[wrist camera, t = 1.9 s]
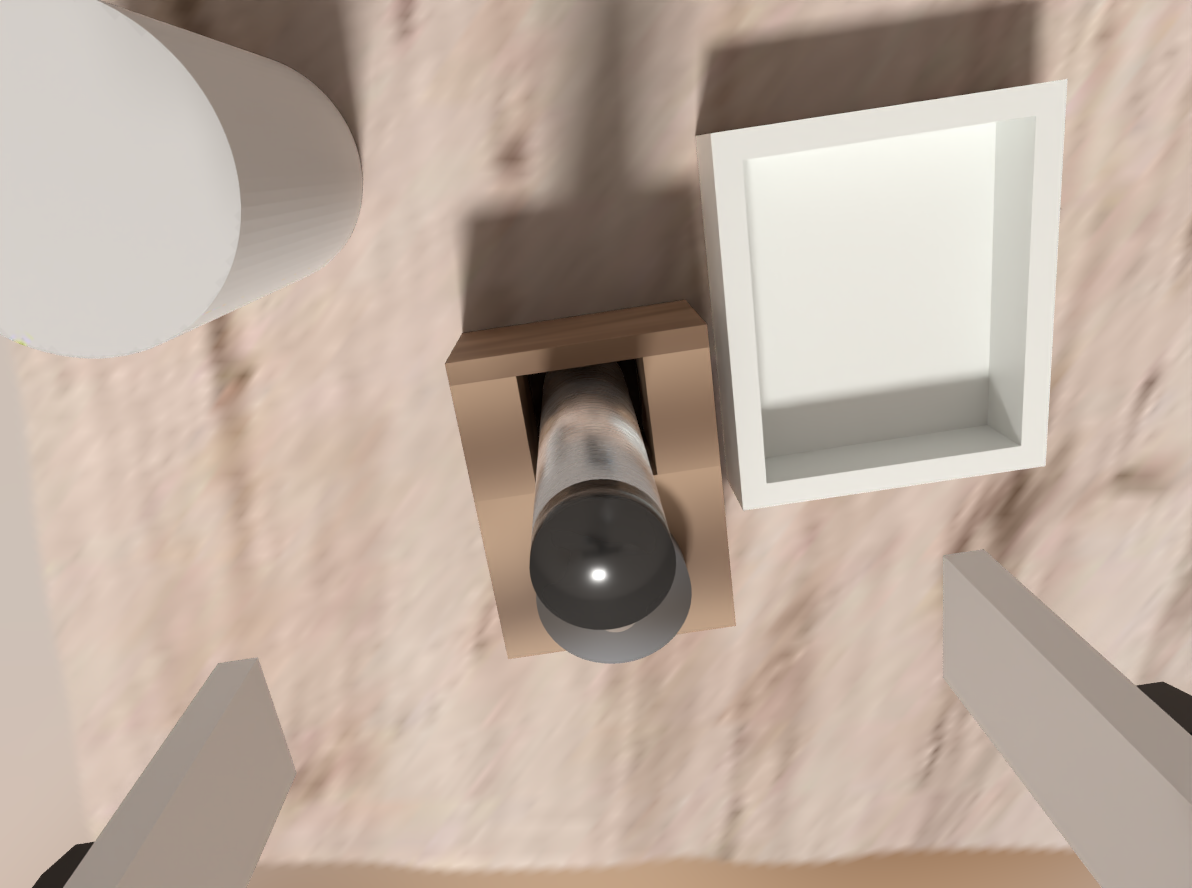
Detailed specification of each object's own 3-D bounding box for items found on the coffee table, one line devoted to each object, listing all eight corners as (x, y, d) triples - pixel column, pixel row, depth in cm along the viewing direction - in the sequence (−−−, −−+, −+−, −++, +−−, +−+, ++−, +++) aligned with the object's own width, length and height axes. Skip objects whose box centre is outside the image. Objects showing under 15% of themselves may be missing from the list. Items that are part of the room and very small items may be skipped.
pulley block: (462, 333, 32) (433, 384, 24) (685, 299, 31) (721, 340, 24) (515, 593, 36) (503, 701, 29) (712, 564, 36) (750, 665, 28)
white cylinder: (91, 113, 28) (-220, 83, 17) (288, 12, 28) (100, -91, 16) (218, 319, 31) (22, 410, 20) (401, 231, 30) (307, 274, 19)
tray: (695, 136, 29) (710, 133, 26) (1015, 87, 29) (1067, 78, 26) (727, 479, 34) (743, 510, 31) (1002, 438, 34) (1045, 465, 31)
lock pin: (536, 354, 32) (517, 511, 18) (620, 342, 32) (667, 489, 18) (550, 432, 33) (542, 639, 19) (630, 420, 33) (683, 618, 19)
